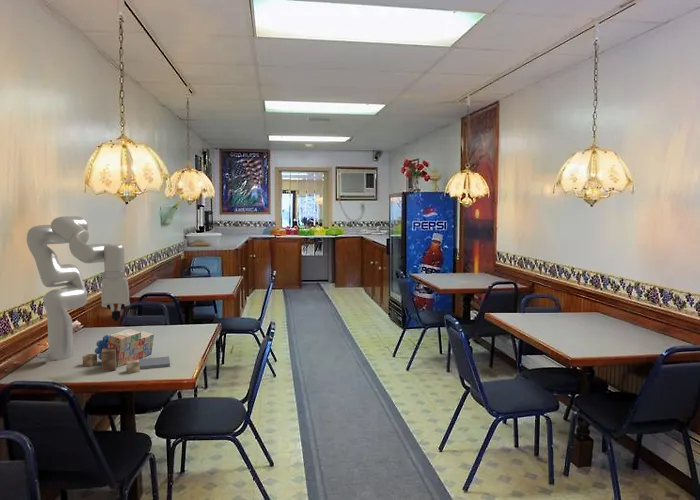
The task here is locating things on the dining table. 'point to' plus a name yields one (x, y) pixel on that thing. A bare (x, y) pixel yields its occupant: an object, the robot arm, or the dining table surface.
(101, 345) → the grapes
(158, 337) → the dining table surface
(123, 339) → the stack of blocks
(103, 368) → the walnut block
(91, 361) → the oak cube
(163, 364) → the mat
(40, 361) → the dining table surface
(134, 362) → the maple cube
